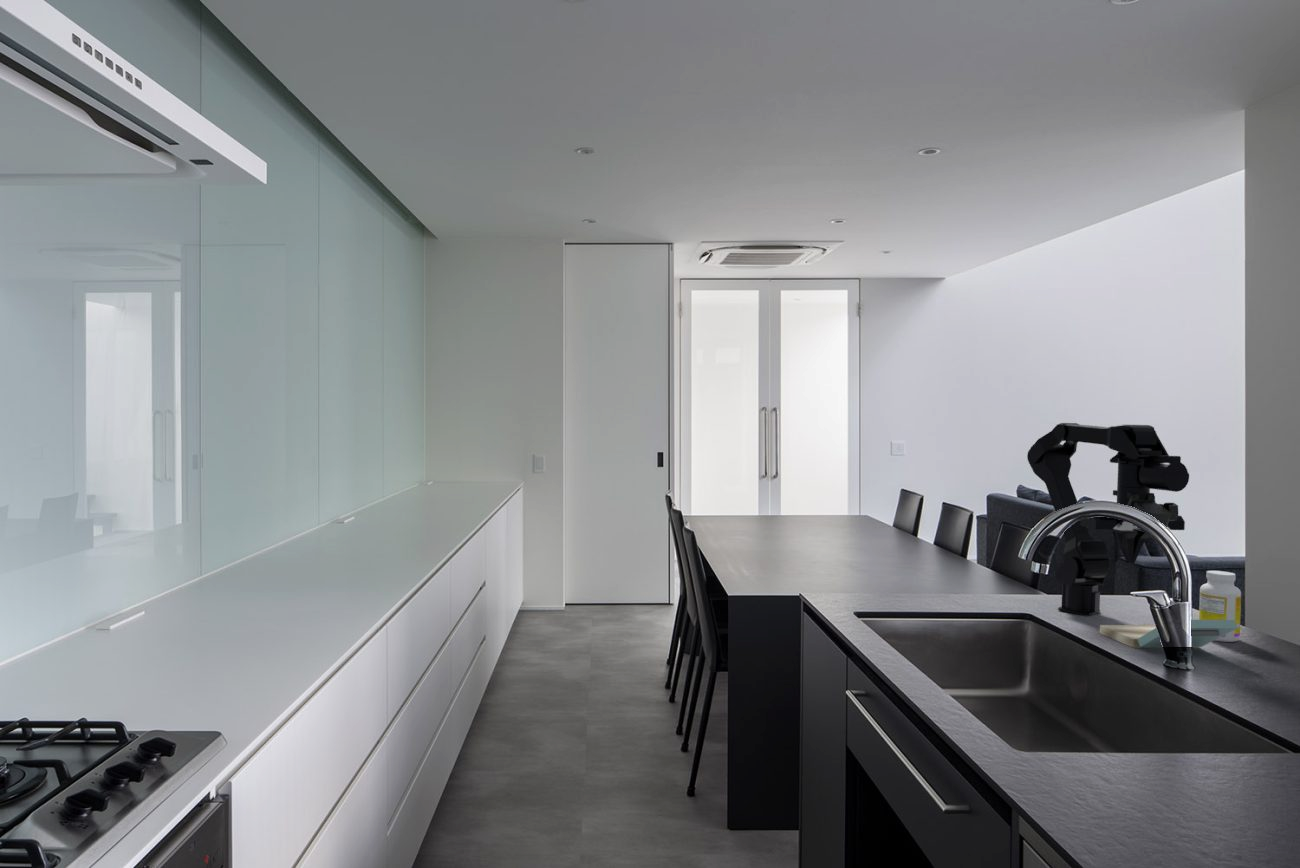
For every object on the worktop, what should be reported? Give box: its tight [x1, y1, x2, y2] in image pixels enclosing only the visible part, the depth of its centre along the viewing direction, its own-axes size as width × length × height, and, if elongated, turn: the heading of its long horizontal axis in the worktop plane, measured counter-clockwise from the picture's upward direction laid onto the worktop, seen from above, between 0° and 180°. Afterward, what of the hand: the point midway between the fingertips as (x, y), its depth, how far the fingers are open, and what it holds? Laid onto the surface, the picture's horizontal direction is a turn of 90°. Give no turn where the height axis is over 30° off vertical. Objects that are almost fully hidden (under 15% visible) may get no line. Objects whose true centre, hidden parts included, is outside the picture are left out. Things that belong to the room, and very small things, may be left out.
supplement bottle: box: [1198, 570, 1242, 643], centre depth 162 cm, size 7×7×13 cm
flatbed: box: [1099, 624, 1200, 649], centre depth 160 cm, size 10×13×2 cm
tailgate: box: [1137, 619, 1238, 648], centre depth 150 cm, size 2×12×10 cm
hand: (1130, 563), depth 169 cm, fingers closed
